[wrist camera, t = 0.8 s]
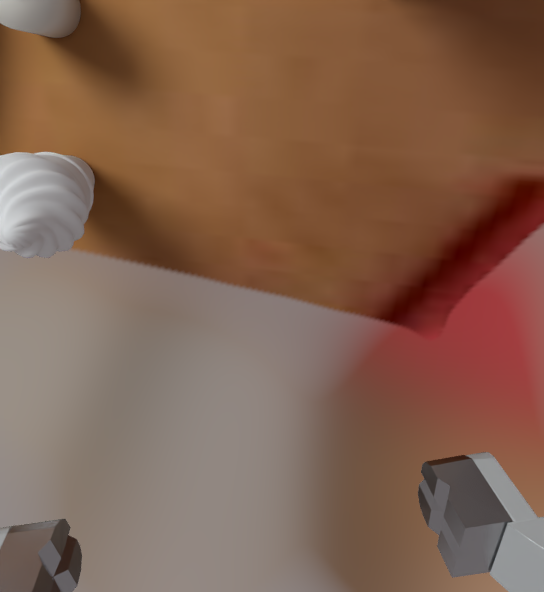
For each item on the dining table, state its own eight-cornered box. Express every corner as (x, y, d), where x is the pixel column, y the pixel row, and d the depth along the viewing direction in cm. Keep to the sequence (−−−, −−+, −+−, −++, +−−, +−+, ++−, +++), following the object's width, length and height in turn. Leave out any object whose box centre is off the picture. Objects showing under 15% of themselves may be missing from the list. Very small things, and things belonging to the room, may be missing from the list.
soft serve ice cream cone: (9, 156, 40) (-100, 200, 26) (82, 117, 40) (10, 141, 26) (64, 229, 44) (-5, 301, 30) (132, 195, 44) (93, 252, 30)
